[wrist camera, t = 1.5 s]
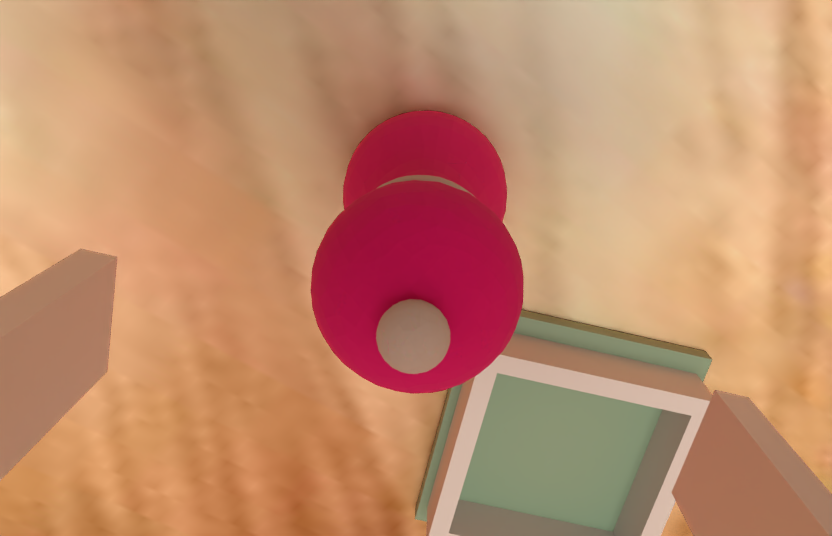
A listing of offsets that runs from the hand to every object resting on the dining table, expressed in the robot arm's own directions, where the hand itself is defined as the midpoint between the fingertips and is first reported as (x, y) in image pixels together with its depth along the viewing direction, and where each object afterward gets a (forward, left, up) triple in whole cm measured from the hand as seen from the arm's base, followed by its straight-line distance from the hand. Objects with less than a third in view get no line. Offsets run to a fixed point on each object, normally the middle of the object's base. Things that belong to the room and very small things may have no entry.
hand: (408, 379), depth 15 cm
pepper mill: (0, 0, -21) cm, 21 cm away
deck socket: (+13, +11, -21) cm, 27 cm away
